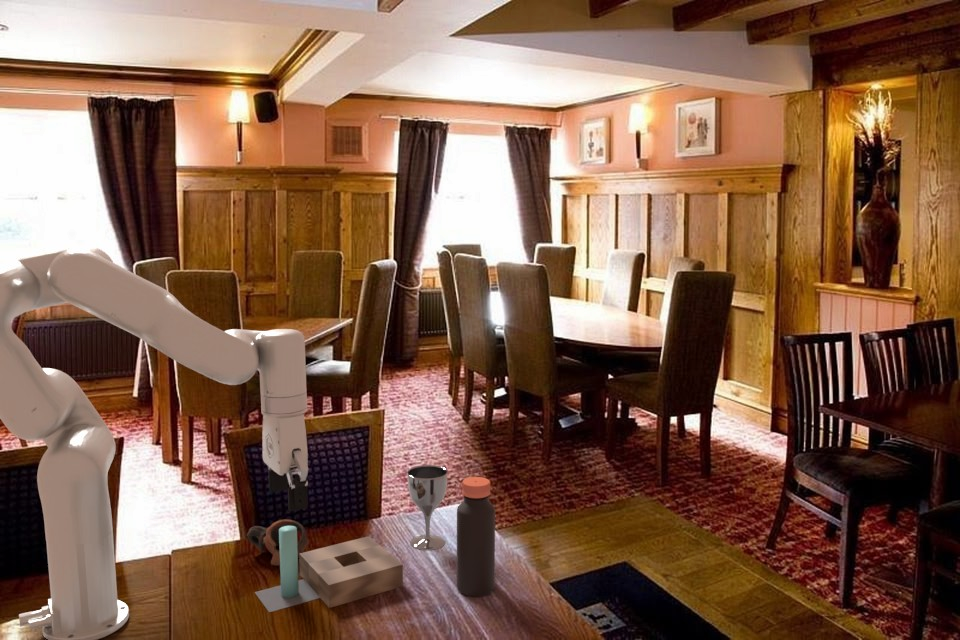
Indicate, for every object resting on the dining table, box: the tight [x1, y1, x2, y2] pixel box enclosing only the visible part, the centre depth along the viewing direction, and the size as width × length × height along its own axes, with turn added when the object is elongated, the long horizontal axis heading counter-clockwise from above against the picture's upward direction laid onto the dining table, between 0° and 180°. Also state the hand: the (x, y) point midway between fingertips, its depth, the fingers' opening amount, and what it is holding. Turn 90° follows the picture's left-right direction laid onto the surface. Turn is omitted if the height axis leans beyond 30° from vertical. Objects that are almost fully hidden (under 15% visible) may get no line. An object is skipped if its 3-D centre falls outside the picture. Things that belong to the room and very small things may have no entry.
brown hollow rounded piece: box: [246, 518, 310, 566], centre depth 151 cm, size 12×10×8 cm
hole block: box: [298, 535, 404, 609], centre depth 142 cm, size 14×14×4 cm
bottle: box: [456, 476, 496, 597], centre depth 139 cm, size 7×7×20 cm
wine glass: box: [407, 464, 448, 551], centre depth 157 cm, size 8×8×15 cm
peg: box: [278, 526, 299, 599], centre depth 136 cm, size 3×3×12 cm
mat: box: [254, 578, 321, 613], centre depth 137 cm, size 10×8×1 cm
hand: (288, 499), depth 134 cm, fingers open, 9 cm apart
